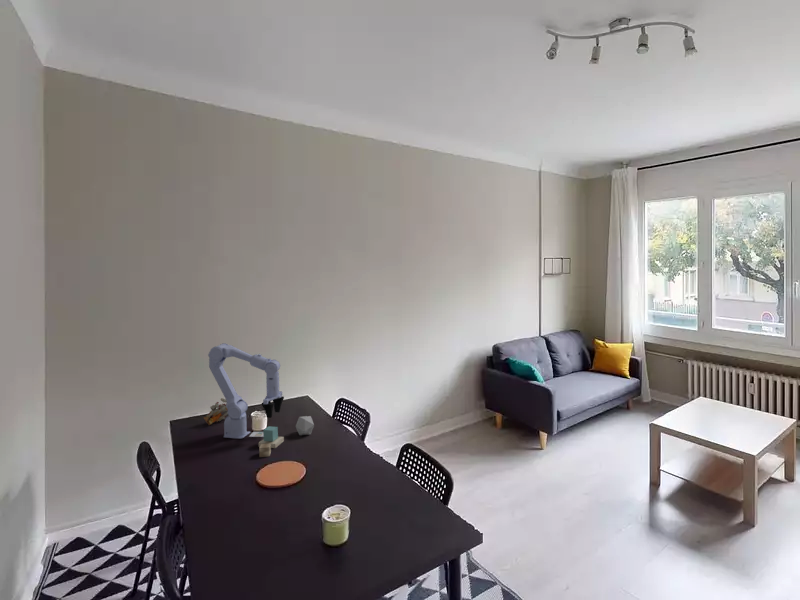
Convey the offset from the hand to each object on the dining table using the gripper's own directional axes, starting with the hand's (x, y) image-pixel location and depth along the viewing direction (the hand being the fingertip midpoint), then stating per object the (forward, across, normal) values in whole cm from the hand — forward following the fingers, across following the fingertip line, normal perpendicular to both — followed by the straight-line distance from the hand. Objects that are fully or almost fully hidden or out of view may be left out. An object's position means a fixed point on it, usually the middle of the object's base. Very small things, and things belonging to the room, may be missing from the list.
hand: (273, 414), depth 198 cm
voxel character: (+10, +9, +33) cm, 36 cm away
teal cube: (+8, -9, -4) cm, 13 cm away
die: (+10, +5, -14) cm, 18 cm away
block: (+10, -20, -7) cm, 24 cm away
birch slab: (+10, -9, -4) cm, 15 cm away
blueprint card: (+10, 0, +7) cm, 12 cm away
